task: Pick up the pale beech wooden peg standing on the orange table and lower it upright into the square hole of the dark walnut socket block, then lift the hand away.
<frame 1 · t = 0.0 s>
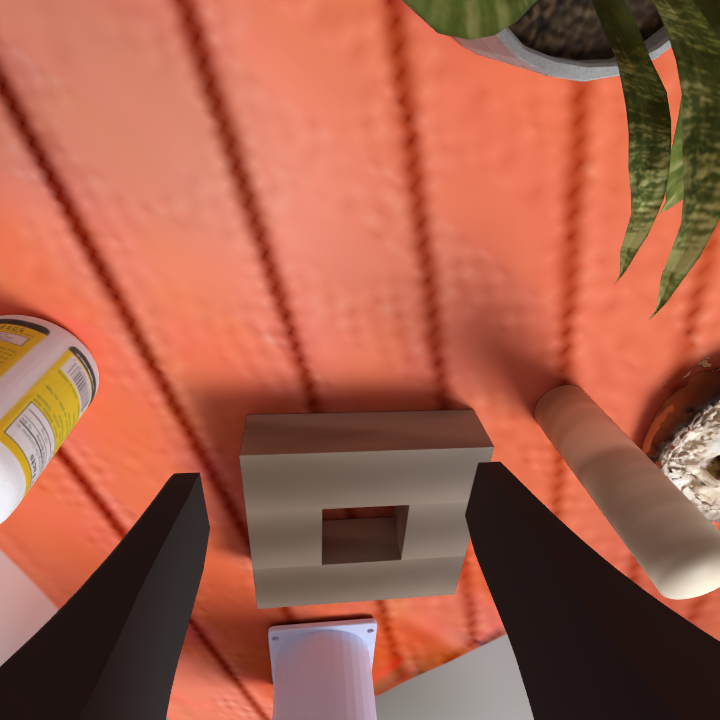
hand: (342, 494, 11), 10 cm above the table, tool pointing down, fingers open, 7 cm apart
beech peg: (560, 407, 24), on the table
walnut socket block: (358, 493, 26), on the table
house plant: (477, 6, 15), on the table
supplement bottle: (40, 363, 20), on the table
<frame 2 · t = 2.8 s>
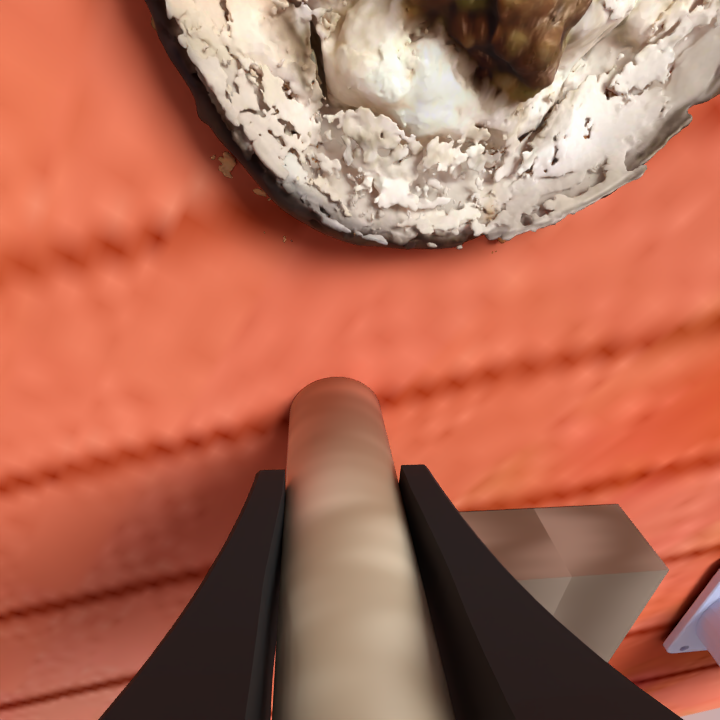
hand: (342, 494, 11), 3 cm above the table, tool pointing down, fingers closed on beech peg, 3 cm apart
beech peg: (335, 415, 14), on the table, touching gripper
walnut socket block: (456, 598, 21), on the table
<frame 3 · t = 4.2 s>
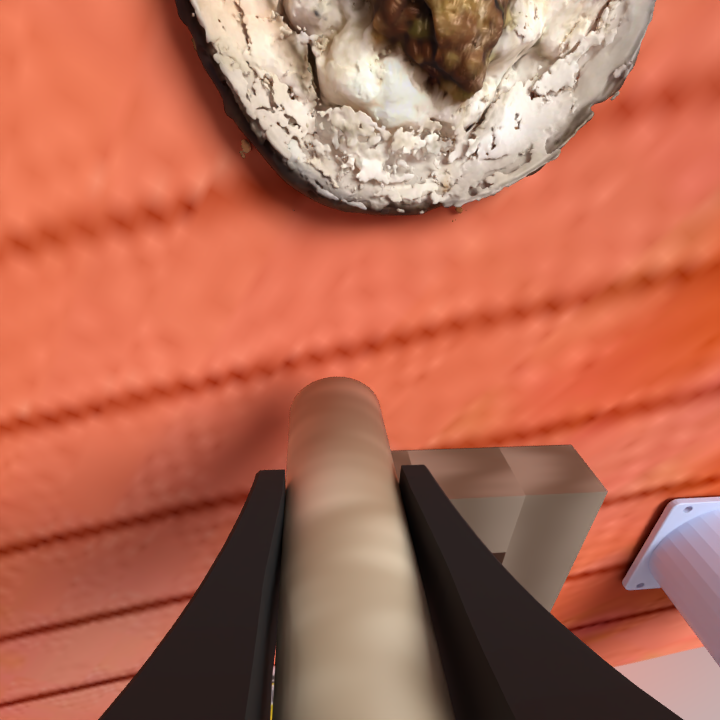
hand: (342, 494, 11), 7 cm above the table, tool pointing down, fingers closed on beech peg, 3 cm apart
beech peg: (335, 414, 14), point 4 cm above the table, touching gripper
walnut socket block: (436, 532, 24), on the table
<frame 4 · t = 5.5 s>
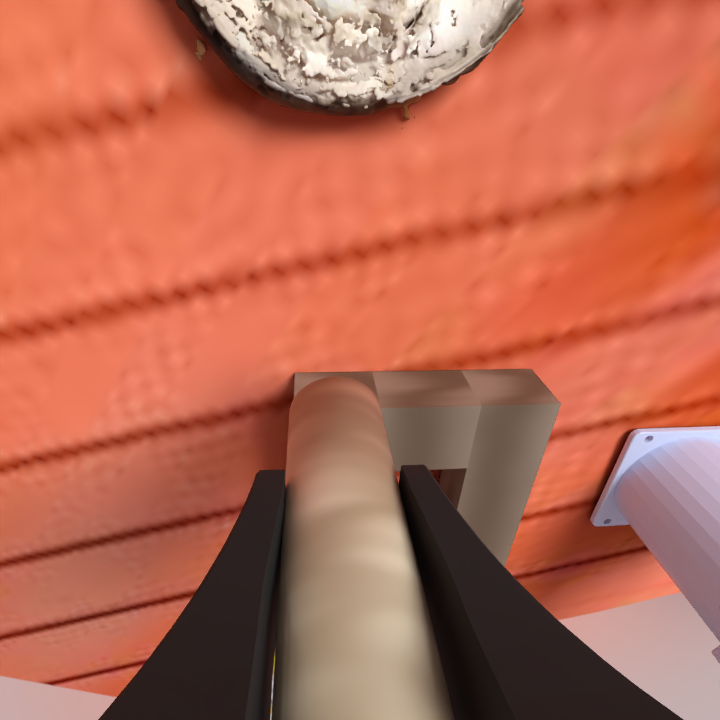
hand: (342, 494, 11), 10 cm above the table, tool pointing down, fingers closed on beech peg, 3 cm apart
beech peg: (335, 414, 14), point 6 cm above the table, touching gripper
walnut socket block: (404, 461, 25), on the table
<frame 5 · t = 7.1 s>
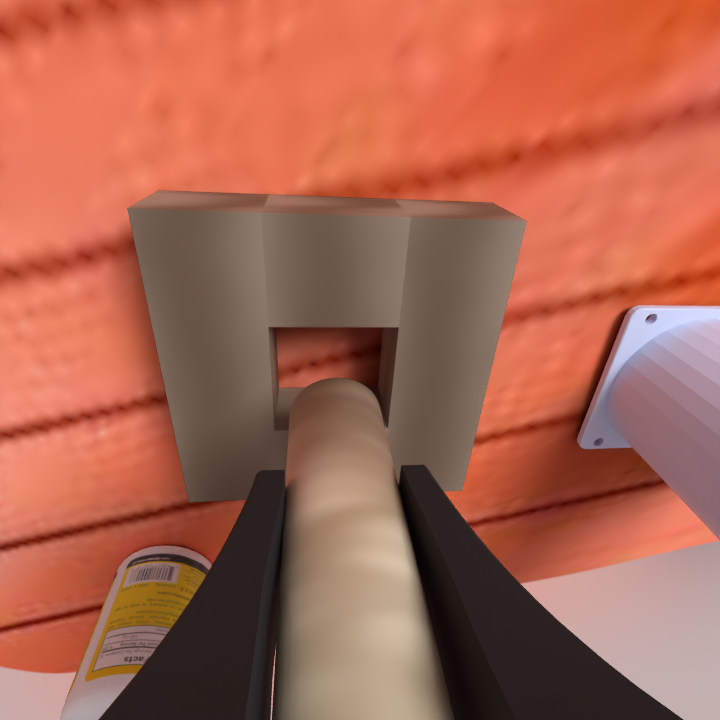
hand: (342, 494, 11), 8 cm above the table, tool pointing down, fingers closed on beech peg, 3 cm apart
beech peg: (335, 416, 14), point 5 cm above the table, touching gripper
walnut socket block: (329, 343, 19), on the table
supplement bottle: (170, 568, 25), on the table
when the fingers open (5 cm above the table, at t = 8.5 s): beech peg drops 2 cm, resting in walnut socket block.
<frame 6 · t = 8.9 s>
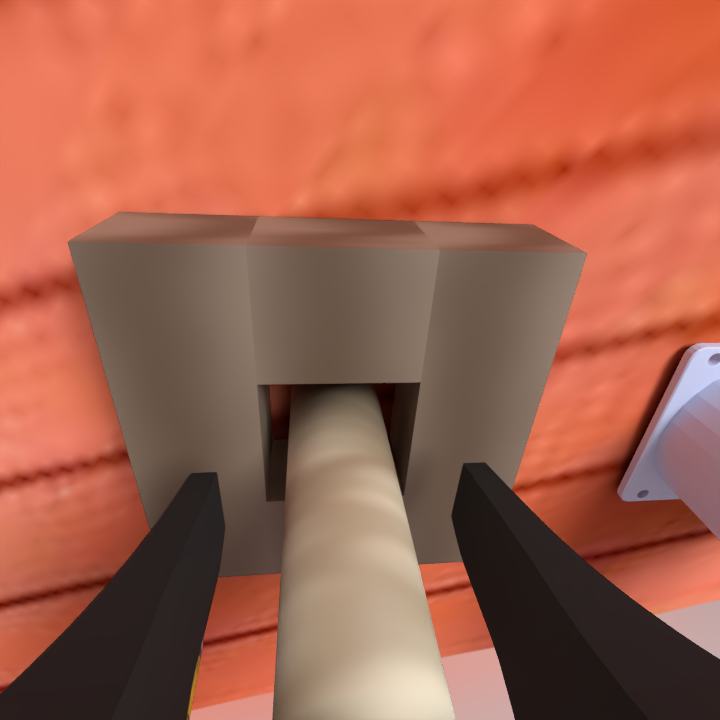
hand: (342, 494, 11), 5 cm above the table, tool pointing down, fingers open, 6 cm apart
beech peg: (333, 390, 16), resting in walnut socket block
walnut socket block: (333, 389, 16), on the table
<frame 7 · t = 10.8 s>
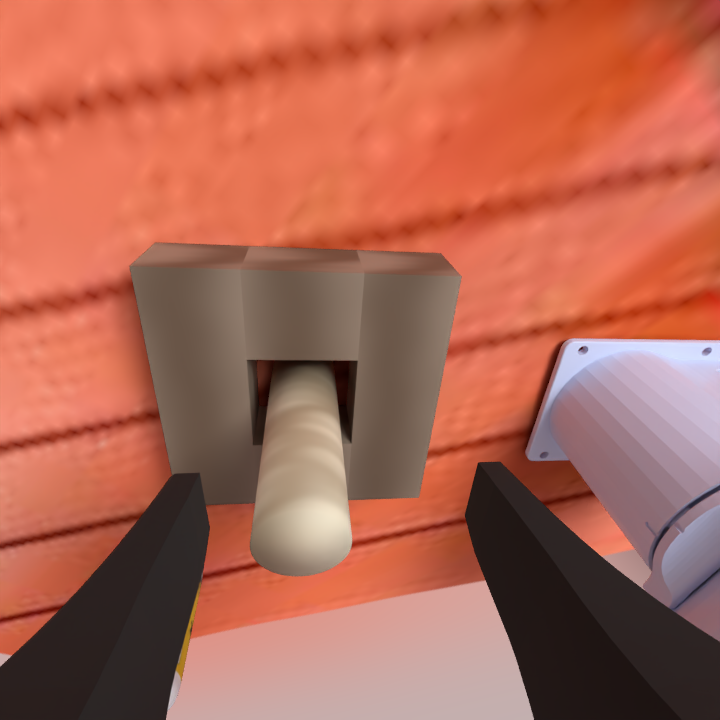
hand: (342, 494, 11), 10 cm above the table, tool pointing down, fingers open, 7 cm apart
beech peg: (303, 369, 21), resting in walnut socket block
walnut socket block: (303, 368, 21), on the table
supplement bottle: (162, 564, 28), on the table
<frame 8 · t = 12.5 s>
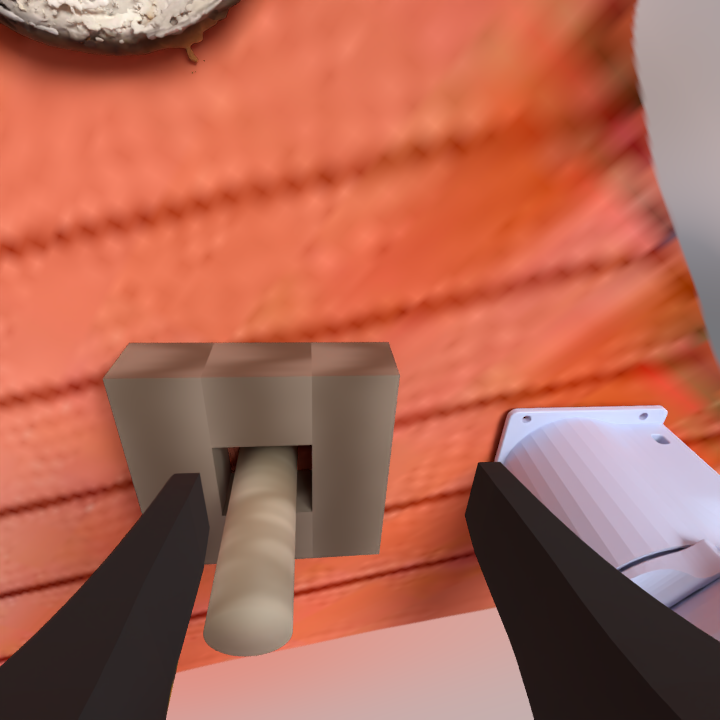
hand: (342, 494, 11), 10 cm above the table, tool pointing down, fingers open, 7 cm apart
beech peg: (270, 440, 24), resting in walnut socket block
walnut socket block: (269, 440, 23), on the table
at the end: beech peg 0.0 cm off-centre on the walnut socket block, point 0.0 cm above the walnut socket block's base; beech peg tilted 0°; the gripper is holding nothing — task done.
